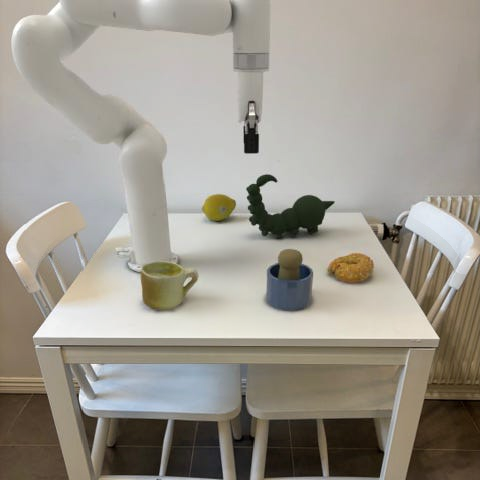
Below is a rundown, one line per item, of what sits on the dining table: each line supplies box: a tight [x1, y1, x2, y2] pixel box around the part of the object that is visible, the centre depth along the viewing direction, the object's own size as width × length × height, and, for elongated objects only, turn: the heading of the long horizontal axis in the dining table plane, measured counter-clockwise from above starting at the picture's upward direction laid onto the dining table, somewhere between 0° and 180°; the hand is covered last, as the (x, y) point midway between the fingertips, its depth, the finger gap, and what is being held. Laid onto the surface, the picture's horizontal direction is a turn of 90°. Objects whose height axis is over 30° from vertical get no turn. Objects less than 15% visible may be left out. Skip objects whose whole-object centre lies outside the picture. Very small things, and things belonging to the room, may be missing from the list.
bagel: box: [327, 252, 375, 284], centre depth 116 cm, size 10×11×5 cm
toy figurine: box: [245, 173, 335, 240], centre depth 136 cm, size 9×19×25 cm
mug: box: [140, 261, 199, 311], centre depth 105 cm, size 12×10×10 cm
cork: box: [277, 248, 304, 280], centre depth 104 cm, size 6×6×11 cm
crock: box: [265, 262, 314, 312], centre depth 105 cm, size 10×10×7 cm
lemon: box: [201, 193, 237, 222], centre depth 149 cm, size 11×8×8 cm
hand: (250, 148), depth 109 cm, fingers open, 9 cm apart
